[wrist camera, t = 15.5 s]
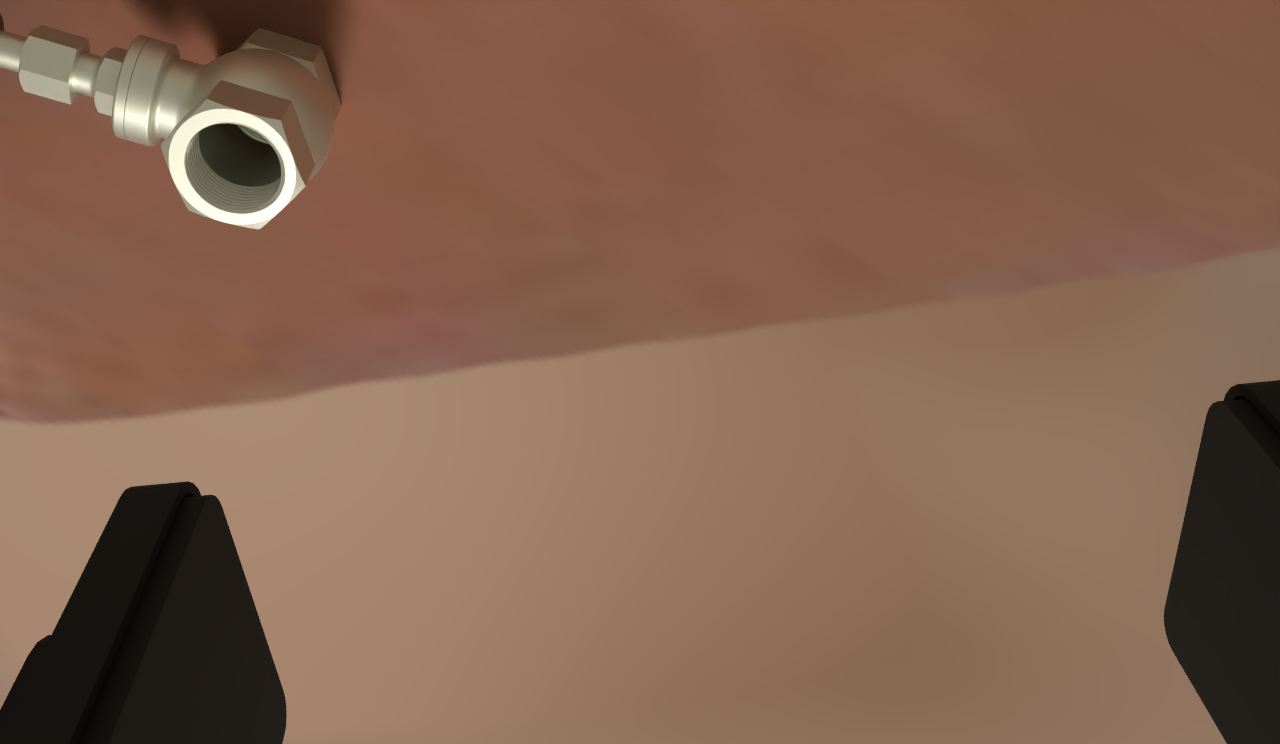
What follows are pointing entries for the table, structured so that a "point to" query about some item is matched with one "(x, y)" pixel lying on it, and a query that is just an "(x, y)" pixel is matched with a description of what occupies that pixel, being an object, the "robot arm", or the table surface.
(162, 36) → the table surface
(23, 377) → the table surface
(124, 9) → the table surface
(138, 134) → the valve
